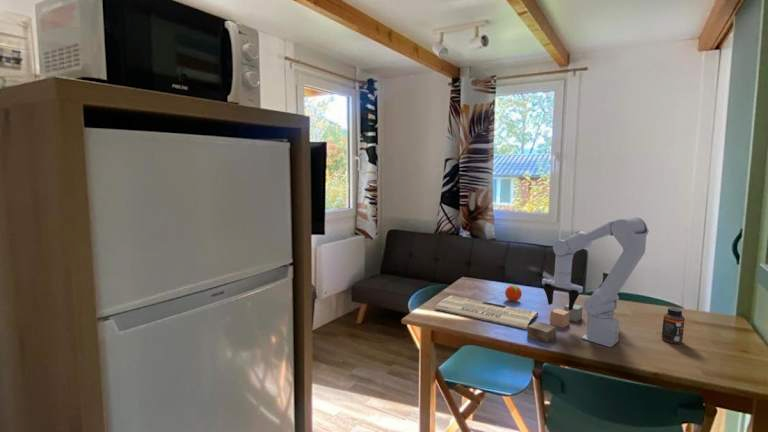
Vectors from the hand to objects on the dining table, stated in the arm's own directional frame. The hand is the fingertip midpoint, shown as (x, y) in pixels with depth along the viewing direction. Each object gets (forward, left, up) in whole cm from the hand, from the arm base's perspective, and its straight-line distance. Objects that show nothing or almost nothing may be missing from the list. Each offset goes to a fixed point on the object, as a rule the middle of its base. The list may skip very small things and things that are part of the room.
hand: (560, 306), depth 157 cm
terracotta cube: (0, 0, -7) cm, 7 cm away
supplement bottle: (-33, -14, -7) cm, 37 cm away
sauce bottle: (-11, -14, -7) cm, 19 cm away
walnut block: (-1, +17, -7) cm, 18 cm away
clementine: (+25, -11, -7) cm, 28 cm away
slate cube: (-1, -10, -7) cm, 12 cm away
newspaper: (+25, +11, -8) cm, 29 cm away
